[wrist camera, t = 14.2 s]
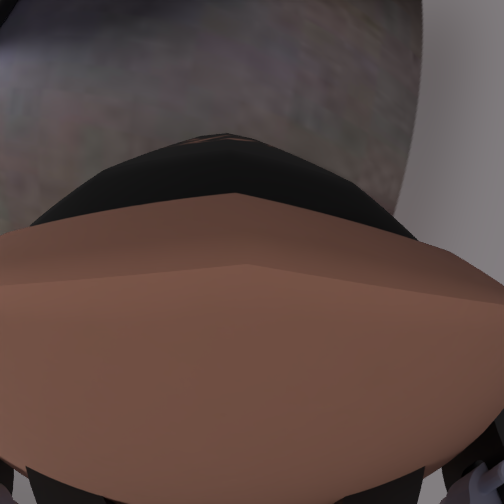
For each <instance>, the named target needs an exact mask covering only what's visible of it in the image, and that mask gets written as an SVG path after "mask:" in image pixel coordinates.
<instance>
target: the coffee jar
mask: <svg viewBox="0 0 504 504" xmlns="http://www.w3.org/2000/svg"><path fill="white" fill-rule="evenodd" d="M503 409H504V286H503V285H502V284H500V283H499V282H497V281H496V280H494V279H493V278H491V277H490V276H488V275H487V274H485V273H483V272H482V271H481V270H479V269H477V268H476V267H474V266H473V265H471V264H469V263H468V262H466V261H465V260H462V259H461V258H459V257H458V256H456V255H454V254H453V253H451V252H449V251H446V250H443V249H440V248H438V247H435V246H432V245H429V244H426V243H423V242H419V241H418V240H417V239H416V238H415V237H414V236H413V235H412V234H411V233H410V232H409V231H408V230H407V229H405V227H403V226H402V225H401V224H400V223H399V222H398V221H397V220H396V219H395V218H394V217H393V216H392V215H390V214H389V213H388V212H387V211H386V210H385V209H384V208H382V207H381V206H380V205H379V204H378V203H377V202H376V201H374V200H373V199H372V198H371V197H370V196H368V195H367V194H366V193H365V192H364V191H362V190H361V189H360V188H359V187H357V186H356V185H355V184H354V183H352V182H350V181H348V180H346V179H344V178H342V177H340V176H338V175H336V174H334V173H332V172H330V171H327V170H325V169H323V168H321V167H319V166H317V165H315V164H312V163H310V162H308V161H306V160H303V159H301V158H299V157H297V156H294V155H292V154H290V153H287V152H285V151H282V150H280V149H278V148H275V147H273V146H270V145H268V144H265V143H263V142H260V141H257V140H255V139H251V138H247V137H242V136H238V135H233V134H229V133H225V134H216V135H207V136H200V137H196V138H193V139H189V140H186V141H183V142H180V143H176V144H173V145H170V146H167V147H164V148H161V149H158V150H155V151H152V152H149V153H147V154H144V155H141V156H138V157H136V158H133V159H130V160H128V161H125V162H123V163H120V164H118V165H115V166H113V167H110V168H108V169H105V170H103V171H102V172H100V173H99V174H97V175H96V176H94V177H93V178H91V179H90V180H88V181H87V182H85V183H84V184H82V185H81V186H80V187H78V188H77V189H75V190H74V191H73V192H71V193H70V194H69V195H67V196H66V197H65V198H63V199H62V200H61V201H59V202H58V203H57V204H55V205H54V206H53V207H52V208H50V209H49V210H48V211H47V212H45V213H44V214H43V215H42V216H41V217H39V218H38V219H37V220H36V221H35V222H34V223H32V224H31V225H30V227H27V228H23V229H19V230H15V231H11V232H8V233H5V234H3V235H1V236H0V459H1V460H2V461H4V462H5V463H6V464H8V465H9V466H10V467H12V468H13V469H15V470H16V471H18V472H19V473H21V474H22V475H24V476H25V477H27V478H28V474H27V471H26V467H25V466H27V467H29V468H31V469H33V470H35V471H37V472H39V473H41V474H44V475H46V476H48V477H50V478H53V479H55V480H57V481H60V482H62V483H65V484H67V485H70V486H73V487H75V488H78V489H81V490H84V491H87V492H90V493H93V494H96V495H100V496H103V497H105V498H106V499H108V500H110V501H112V502H114V503H115V504H334V503H335V502H337V501H338V500H340V499H342V498H344V497H345V496H349V495H352V494H355V493H359V492H362V491H365V490H368V489H371V488H374V487H377V486H379V485H382V484H385V483H387V482H390V481H392V480H395V479H397V478H400V477H402V476H404V475H407V474H409V473H411V472H413V471H416V470H418V469H420V468H422V467H424V466H425V471H424V476H423V479H424V478H425V477H427V476H428V475H430V474H432V473H433V472H435V471H436V470H438V469H439V468H441V467H442V466H444V465H445V464H446V463H448V462H449V461H450V460H452V459H453V458H454V457H456V456H457V455H458V454H459V453H460V452H462V451H463V450H464V449H465V448H466V447H468V446H469V445H470V444H471V443H472V442H473V441H474V440H475V439H477V438H478V437H479V436H480V435H481V434H482V433H483V432H484V431H485V430H486V429H487V428H488V426H489V425H490V424H491V423H492V422H493V421H494V420H495V418H496V417H497V416H498V415H499V414H500V412H501V411H502V410H503ZM28 479H29V478H28Z"/></svg>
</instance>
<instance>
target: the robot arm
mask: <svg viewBox="0 0 504 504" xmlns="http://www.w3.org/2000/svg"><path fill="white" fill-rule="evenodd" d="M16 2H17V0H0V26H1V25H2V23H3V22H4V20H5V19H6V17H7V16H8V14H9V13H10V11H11V10H12V8H13V7H14V5H15V4H16ZM25 467H26V471H27V474H28V478H29V481H30V484H31V488H32V491H33V494H34V496H35V499H36V502H37V504H115V503H114V502H112V501H110V500H108V499H106V498H105V497H103V496H100V495H96V494H93V493H90V492H87V491H84V490H81V489H78V488H75V487H73V486H70V485H67V484H65V483H62V482H60V481H57V480H55V479H53V478H50V477H48V476H46V475H44V474H41V473H39V472H37V471H35V470H33V469H31V468H29V467H27V466H25ZM424 471H425V466H424V467H422V468H420V469H418V470H416V471H413V472H411V473H409V474H407V475H404V476H402V477H400V478H397V479H395V480H392V481H390V482H387V483H385V484H382V485H379V486H377V487H374V488H371V489H368V490H365V491H362V492H359V493H355V494H352V495H349V496H345V497H344V498H342V499H340V500H338V501H337V502H335V503H334V504H417V502H418V497H419V493H420V489H421V485H422V480H423V476H424ZM442 474H443V478H444V482H445V486H446V490H447V496H446V497H445V498H444V499H443V500H441V502H440V504H504V409H503V410H502V411H501V412H500V414H499V415H498V416H497V417H496V418H495V420H494V421H493V422H492V423H491V424H490V425H489V426H488V428H487V429H486V430H485V431H484V432H483V433H482V434H481V435H480V436H479V437H478V438H477V439H475V440H474V441H473V442H472V443H471V444H470V445H469V446H468V447H466V448H465V449H464V450H463V451H462V452H460V453H459V454H458V455H457V456H456V457H454V458H453V459H452V460H450V461H449V462H448V463H446V464H445V465H444V466H442ZM13 480H14V469H13V468H12V467H10V466H9V465H8V464H6V463H5V462H4V461H2V460H1V459H0V504H18V503H17V502H15V501H14V500H13V498H12V491H13Z"/></svg>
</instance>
